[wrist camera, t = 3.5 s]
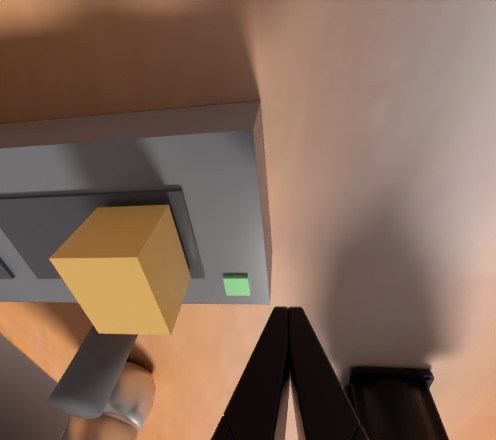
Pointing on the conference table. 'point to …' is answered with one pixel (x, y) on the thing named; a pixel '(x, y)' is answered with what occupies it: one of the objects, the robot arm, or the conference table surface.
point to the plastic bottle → (118, 409)
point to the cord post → (92, 374)
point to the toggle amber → (126, 269)
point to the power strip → (140, 194)
